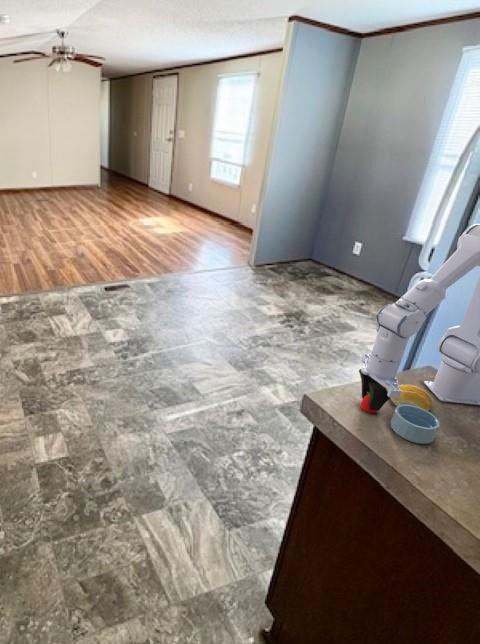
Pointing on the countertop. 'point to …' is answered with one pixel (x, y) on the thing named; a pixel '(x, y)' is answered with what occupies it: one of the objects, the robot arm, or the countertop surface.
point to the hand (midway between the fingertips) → (370, 403)
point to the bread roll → (413, 397)
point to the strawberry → (367, 404)
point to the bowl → (414, 424)
